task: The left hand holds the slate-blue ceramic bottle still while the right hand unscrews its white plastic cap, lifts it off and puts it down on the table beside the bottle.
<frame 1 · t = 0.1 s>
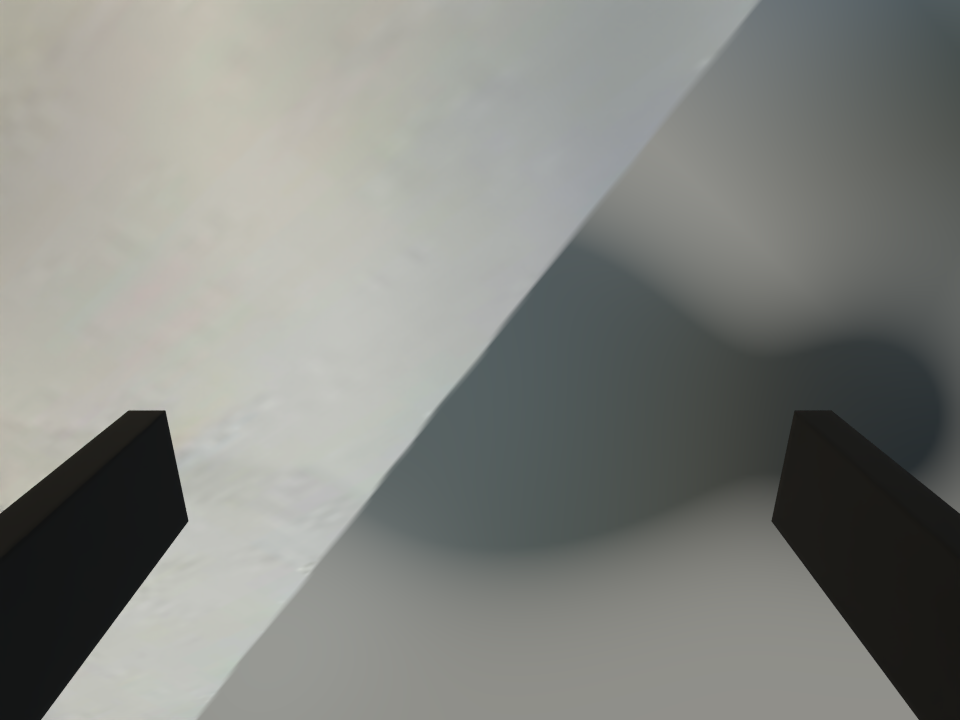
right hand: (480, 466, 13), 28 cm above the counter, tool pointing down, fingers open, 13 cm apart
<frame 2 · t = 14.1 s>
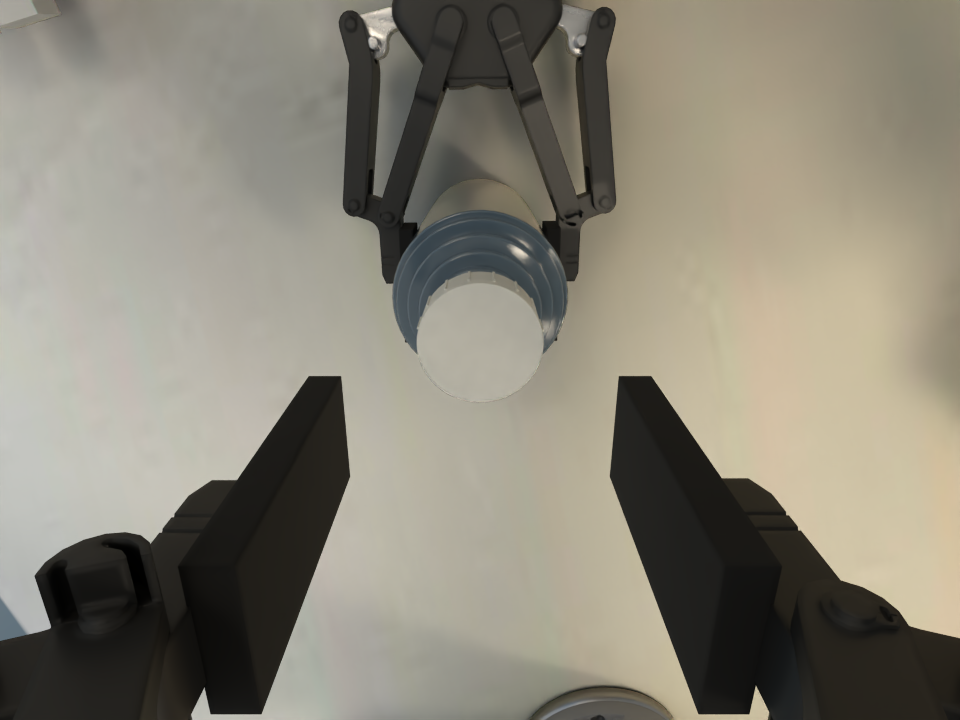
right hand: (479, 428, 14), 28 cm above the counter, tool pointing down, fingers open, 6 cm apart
left hand: (481, 333, 36), fingers closed on bottle, 7 cm apart
bottle: (480, 235, 40), on the counter, touching left hand
cap: (480, 342, 20), point 21 cm above the counter, screwed on, not yet turned
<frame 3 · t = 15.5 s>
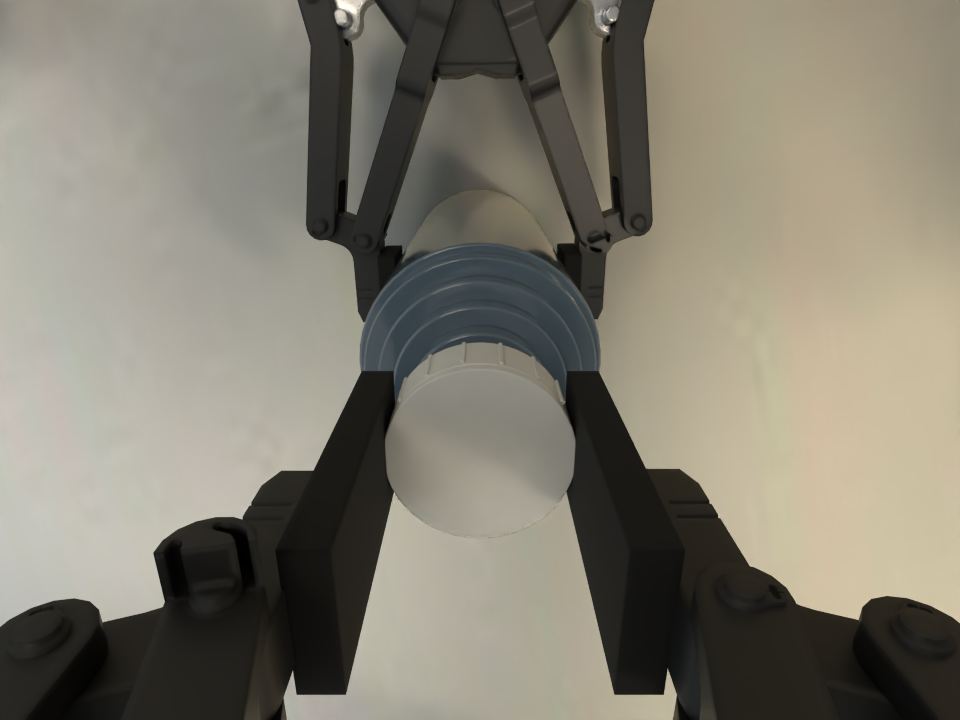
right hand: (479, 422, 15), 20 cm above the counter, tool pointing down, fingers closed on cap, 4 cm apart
left hand: (481, 381, 30), fingers closed on bottle, 7 cm apart
bottle: (480, 258, 33), on the counter, touching left hand
cap: (480, 451, 13), point 21 cm above the counter, screwed on, not yet turned, touching right hand
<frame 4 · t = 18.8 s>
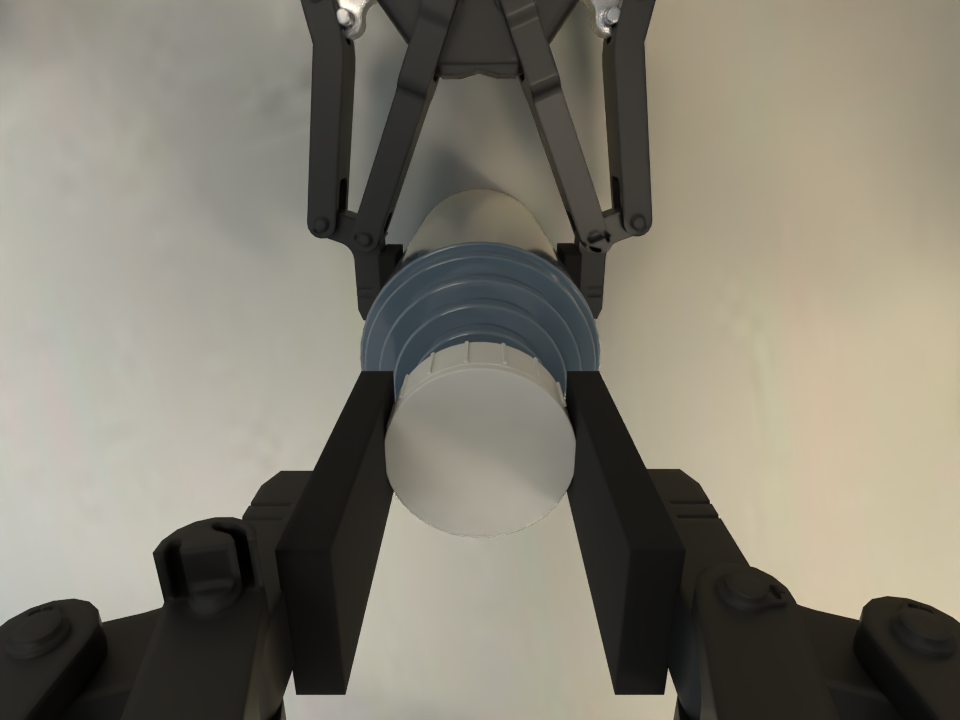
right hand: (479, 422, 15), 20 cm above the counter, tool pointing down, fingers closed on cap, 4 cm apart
left hand: (480, 380, 30), fingers closed on bottle, 7 cm apart
bottle: (480, 257, 33), on the counter, touching left hand
cap: (480, 451, 13), point 22 cm above the counter, turned 111° so far, risen 0.1 cm, still on its thread, touching right hand
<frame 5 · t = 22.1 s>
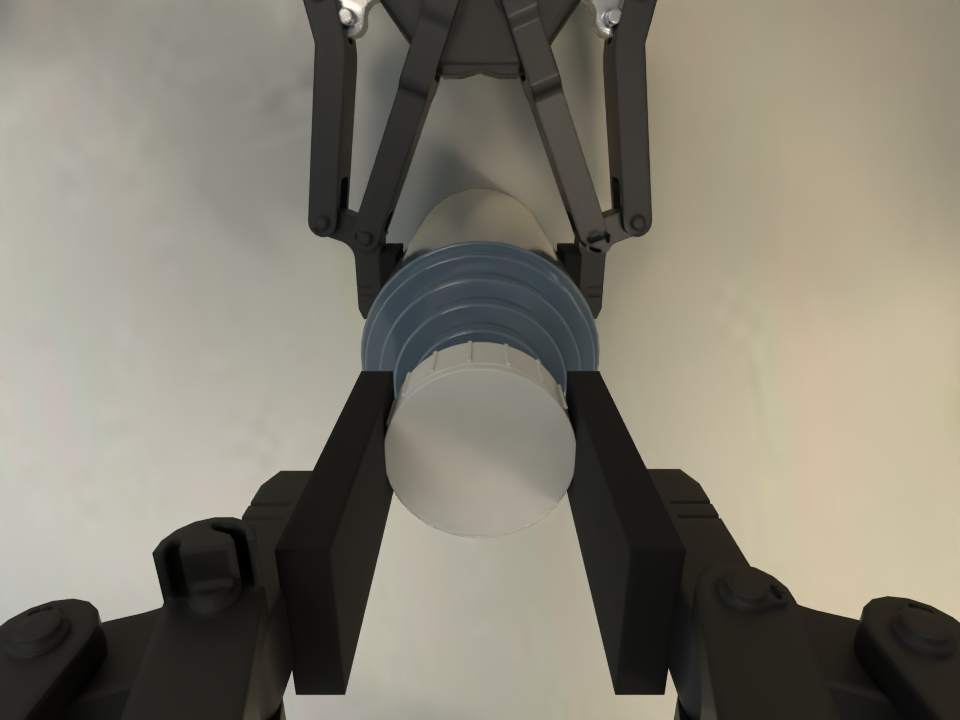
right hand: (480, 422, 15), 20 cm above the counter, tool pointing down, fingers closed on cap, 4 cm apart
left hand: (480, 379, 30), fingers closed on bottle, 7 cm apart
bottle: (480, 257, 34), on the counter, touching left hand
cap: (480, 451, 13), point 22 cm above the counter, turned 222° so far, risen 0.2 cm, still on its thread, touching right hand
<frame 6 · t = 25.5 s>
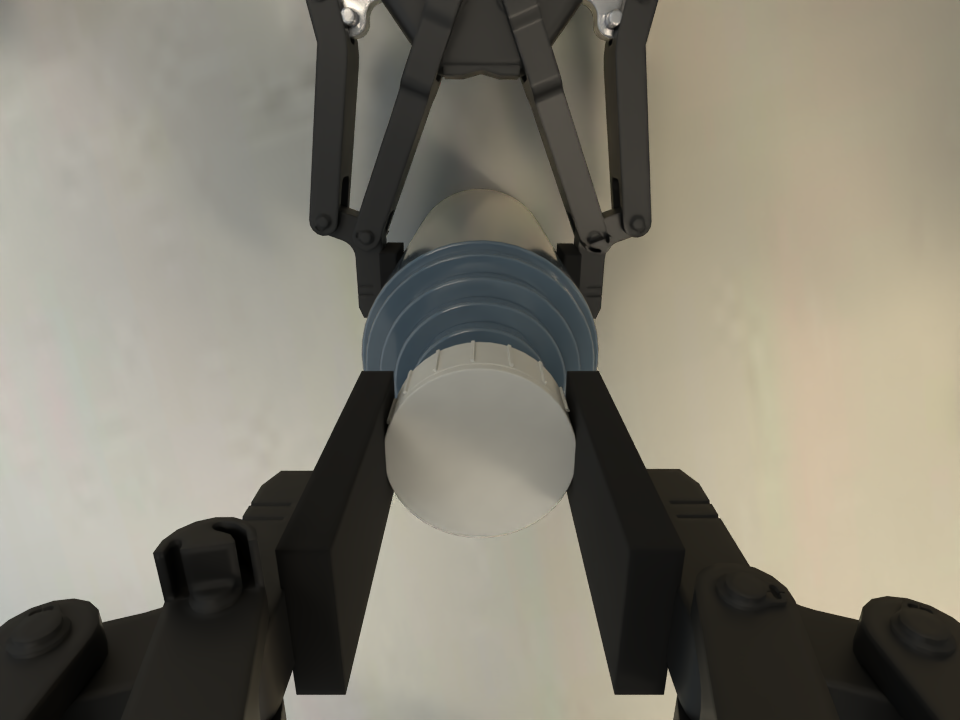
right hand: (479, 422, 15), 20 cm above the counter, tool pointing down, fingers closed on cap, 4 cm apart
left hand: (479, 378, 30), fingers closed on bottle, 7 cm apart
bottle: (480, 256, 34), on the counter, touching left hand
cap: (480, 451, 13), point 22 cm above the counter, turned 333° so far, risen 0.3 cm, still on its thread, touching right hand
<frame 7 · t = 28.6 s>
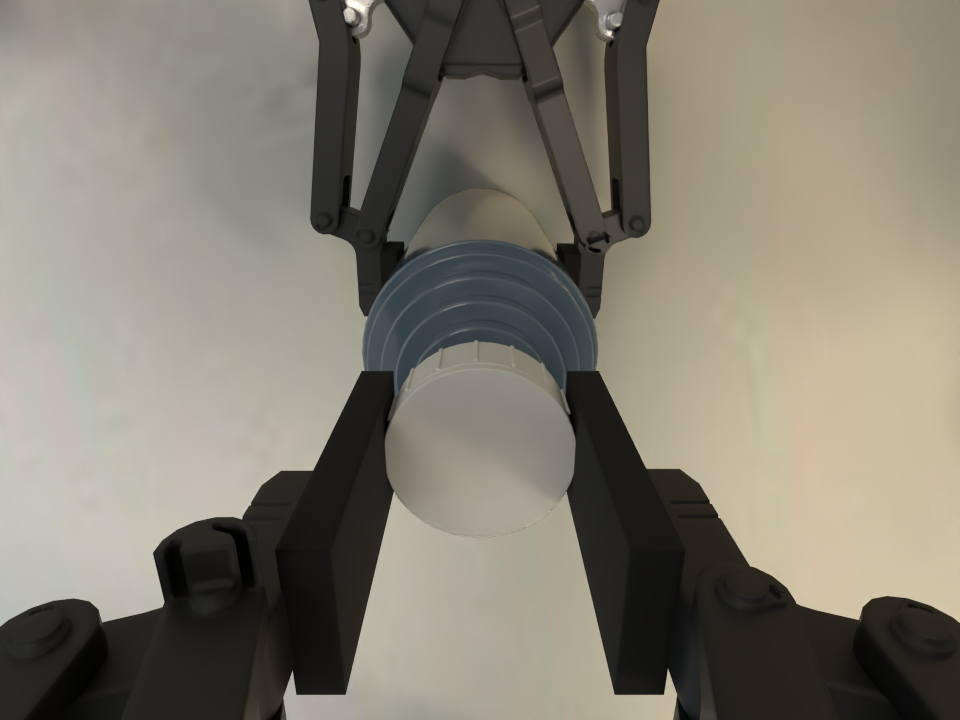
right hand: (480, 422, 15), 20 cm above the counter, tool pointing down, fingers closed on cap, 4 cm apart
left hand: (479, 377, 30), fingers closed on bottle, 7 cm apart
bottle: (480, 256, 34), on the counter, touching left hand
cap: (480, 451, 13), point 22 cm above the counter, turned 444° so far, risen 0.5 cm, still on its thread, touching right hand
when the right hand's fingers open (1 cm above the counter, at t = 35.5 s): cap drops 2 cm, point 1 cm above the counter.
when the left hand's fingers open (6 cm above the counter, at t = 36.8 s): bottle stays where it is, on the counter.
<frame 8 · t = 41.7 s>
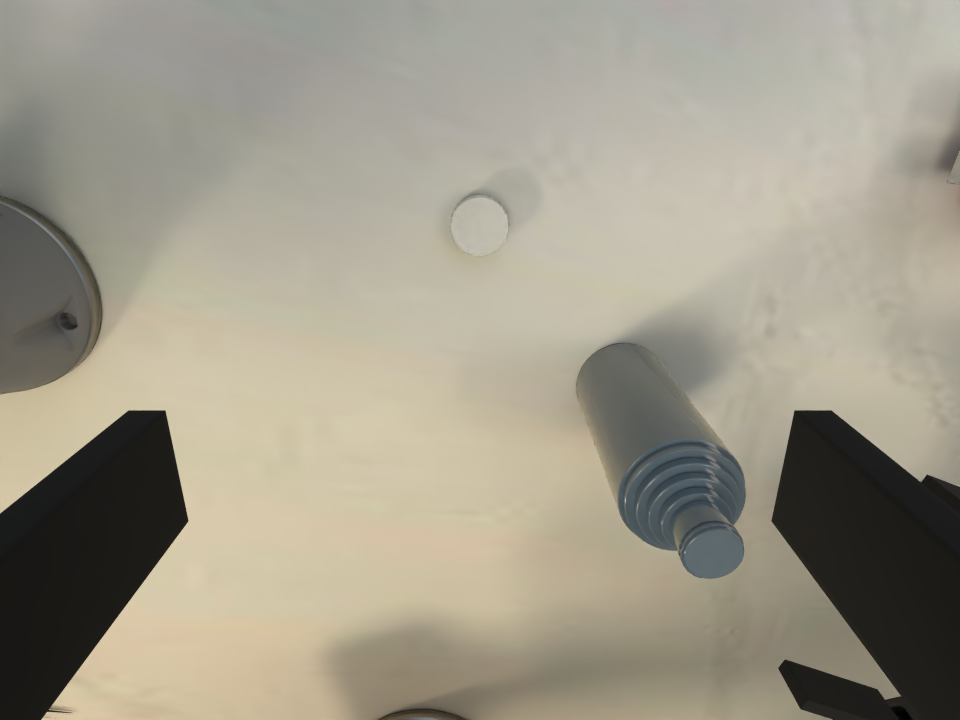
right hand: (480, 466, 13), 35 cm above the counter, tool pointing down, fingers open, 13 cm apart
bottle: (620, 384, 50), on the counter
cap: (479, 226, 44), point 1 cm above the counter, off its thread
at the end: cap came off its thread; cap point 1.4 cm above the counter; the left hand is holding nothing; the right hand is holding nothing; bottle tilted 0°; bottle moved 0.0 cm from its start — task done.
